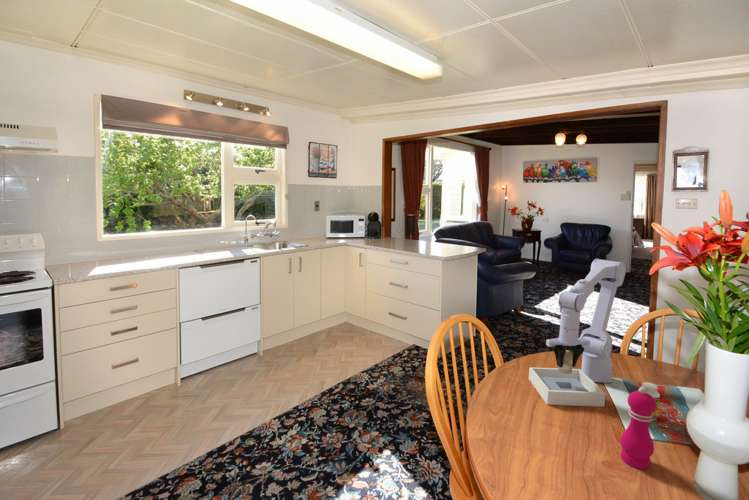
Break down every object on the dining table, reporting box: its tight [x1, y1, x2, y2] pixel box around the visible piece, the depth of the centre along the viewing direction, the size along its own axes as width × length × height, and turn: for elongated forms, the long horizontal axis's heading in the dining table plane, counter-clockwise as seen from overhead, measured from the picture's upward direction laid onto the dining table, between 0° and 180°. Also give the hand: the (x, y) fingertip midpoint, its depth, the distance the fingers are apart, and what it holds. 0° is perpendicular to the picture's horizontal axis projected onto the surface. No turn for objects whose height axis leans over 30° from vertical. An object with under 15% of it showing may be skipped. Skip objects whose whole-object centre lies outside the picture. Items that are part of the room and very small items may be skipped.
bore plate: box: [541, 377, 589, 392], centre depth 138 cm, size 12×12×2 cm
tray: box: [528, 367, 607, 407], centre depth 139 cm, size 18×18×4 cm
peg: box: [558, 349, 573, 374], centre depth 138 cm, size 4×4×7 cm
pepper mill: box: [619, 386, 656, 470], centre depth 102 cm, size 7×7×20 cm
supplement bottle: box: [637, 381, 661, 422], centre depth 124 cm, size 6×6×10 cm
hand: (565, 365), depth 138 cm, fingers closed on peg, 4 cm apart
